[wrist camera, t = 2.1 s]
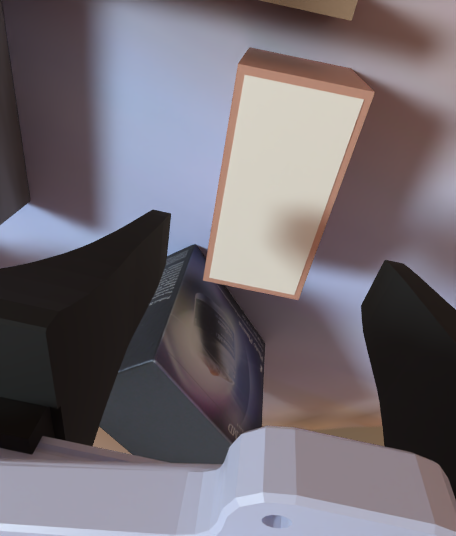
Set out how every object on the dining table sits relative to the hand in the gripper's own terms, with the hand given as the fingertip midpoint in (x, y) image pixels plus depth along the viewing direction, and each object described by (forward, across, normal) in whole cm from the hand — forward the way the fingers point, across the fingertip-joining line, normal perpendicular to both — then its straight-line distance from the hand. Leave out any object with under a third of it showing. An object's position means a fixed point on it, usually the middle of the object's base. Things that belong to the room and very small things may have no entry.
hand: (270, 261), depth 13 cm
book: (+11, 0, 0) cm, 11 cm away
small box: (+11, +2, +12) cm, 17 cm away
